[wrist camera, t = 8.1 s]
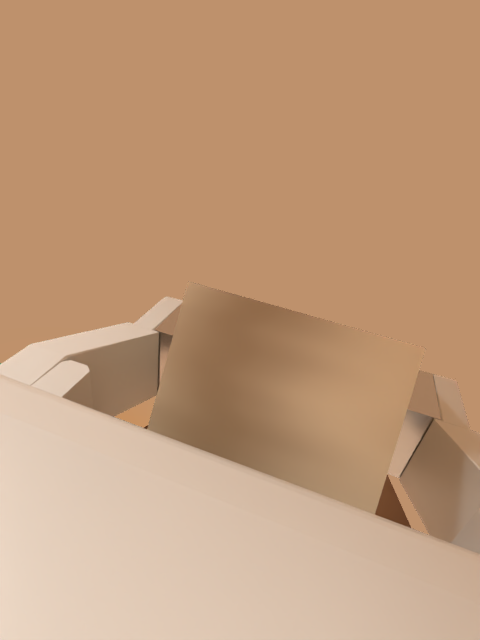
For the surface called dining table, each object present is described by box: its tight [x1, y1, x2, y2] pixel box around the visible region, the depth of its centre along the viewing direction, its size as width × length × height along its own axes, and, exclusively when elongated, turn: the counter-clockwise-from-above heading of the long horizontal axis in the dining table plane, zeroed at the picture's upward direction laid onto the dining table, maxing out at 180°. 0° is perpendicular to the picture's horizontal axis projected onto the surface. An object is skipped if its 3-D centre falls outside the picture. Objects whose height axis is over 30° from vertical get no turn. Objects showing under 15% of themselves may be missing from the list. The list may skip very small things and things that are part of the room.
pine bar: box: [147, 282, 426, 514], centre depth 18 cm, size 4×24×3 cm, turn 167°
